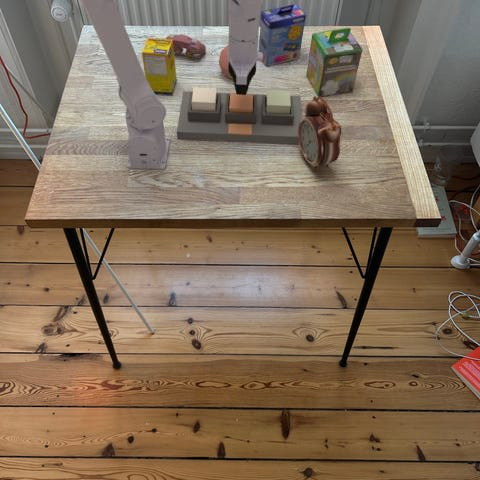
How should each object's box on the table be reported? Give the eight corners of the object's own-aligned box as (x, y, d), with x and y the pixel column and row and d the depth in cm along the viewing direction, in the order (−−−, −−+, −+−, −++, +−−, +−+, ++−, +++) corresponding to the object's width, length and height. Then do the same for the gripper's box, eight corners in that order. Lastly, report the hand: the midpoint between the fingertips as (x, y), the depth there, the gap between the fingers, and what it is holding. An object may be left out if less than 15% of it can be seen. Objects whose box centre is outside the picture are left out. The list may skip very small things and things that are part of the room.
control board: (301, 144, 110) (304, 127, 106) (177, 138, 110) (175, 122, 106) (299, 103, 118) (301, 86, 115) (183, 98, 118) (182, 81, 115)
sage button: (289, 117, 110) (290, 105, 107) (266, 116, 110) (267, 104, 107) (288, 102, 113) (289, 91, 110) (266, 101, 113) (267, 90, 110)
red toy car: (166, 57, 131) (159, 41, 124) (171, 41, 132) (165, 25, 125) (203, 64, 129) (197, 49, 122) (208, 48, 130) (203, 32, 123)
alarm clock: (293, 146, 109) (302, 88, 97) (313, 141, 111) (324, 83, 99) (315, 181, 103) (327, 123, 91) (336, 175, 104) (351, 117, 93)
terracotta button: (251, 120, 111) (252, 109, 108) (229, 119, 111) (229, 108, 108) (252, 105, 114) (253, 94, 112) (230, 104, 114) (230, 93, 111)
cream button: (215, 114, 110) (215, 102, 107) (192, 113, 110) (191, 101, 107) (216, 99, 113) (216, 88, 110) (194, 98, 113) (193, 87, 110)
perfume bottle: (230, 88, 121) (231, 42, 112) (212, 72, 125) (211, 26, 115) (256, 77, 124) (259, 31, 114) (238, 61, 128) (239, 16, 118)
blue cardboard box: (266, 68, 126) (270, 12, 115) (256, 56, 129) (260, 0, 118) (301, 59, 129) (308, 3, 118) (290, 47, 132) (297, -8, 121)
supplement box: (176, 80, 122) (173, 38, 114) (172, 95, 119) (168, 54, 110) (152, 78, 123) (147, 36, 114) (147, 93, 119) (141, 51, 110)
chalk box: (339, 70, 127) (351, 13, 115) (353, 92, 121) (367, 35, 110) (304, 75, 125) (313, 17, 113) (317, 98, 120) (327, 40, 108)
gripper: (264, 56, 93) (259, 115, 104) (264, 14, 102) (260, 73, 113) (225, 54, 93) (225, 114, 104) (229, 13, 102) (228, 71, 113)
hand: (241, 92), depth 108 cm, fingers closed
